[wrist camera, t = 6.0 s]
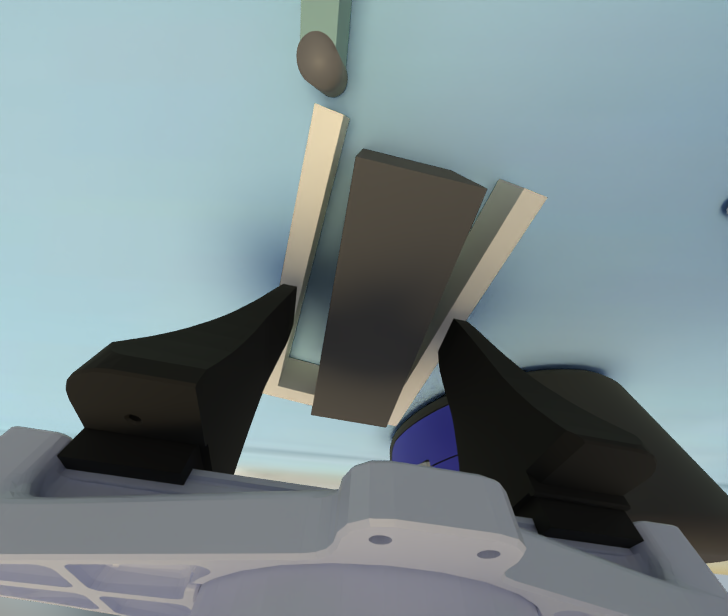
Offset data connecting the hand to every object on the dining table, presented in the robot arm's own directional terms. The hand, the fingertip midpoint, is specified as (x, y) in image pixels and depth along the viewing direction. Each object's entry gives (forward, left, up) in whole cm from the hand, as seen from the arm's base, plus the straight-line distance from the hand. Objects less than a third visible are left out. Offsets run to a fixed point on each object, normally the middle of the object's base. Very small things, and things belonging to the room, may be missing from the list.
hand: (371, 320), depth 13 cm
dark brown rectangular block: (0, 0, -4) cm, 4 cm away
